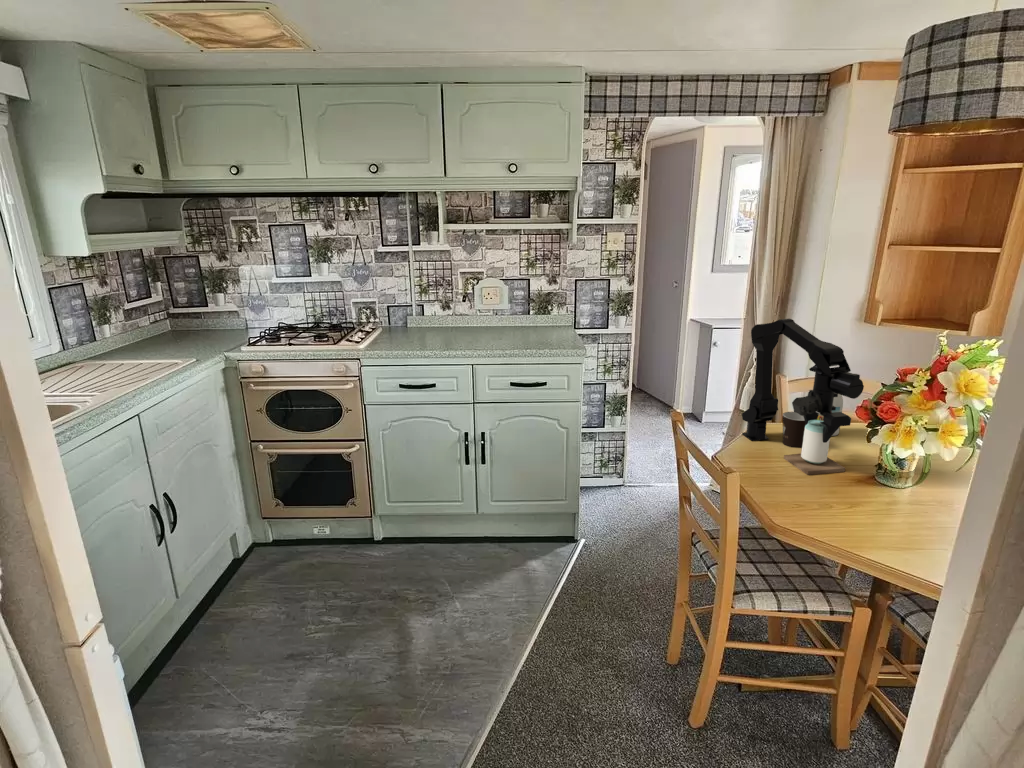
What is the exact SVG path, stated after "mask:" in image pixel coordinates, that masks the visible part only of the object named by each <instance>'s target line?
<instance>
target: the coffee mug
mask: <svg viewBox="0 0 1024 768" xmlns="http://www.w3.org/2000/svg"><path fill="white" fill-rule="evenodd" d="M805 426H806V425H805V420H804V417H803V416H801V415H799V414H798V413H795V412H794V411H786V412H783V413H782V444H783V445H784V446H786V447H789V448H794V449H802V445H803V437H804V430H805Z"/></svg>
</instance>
